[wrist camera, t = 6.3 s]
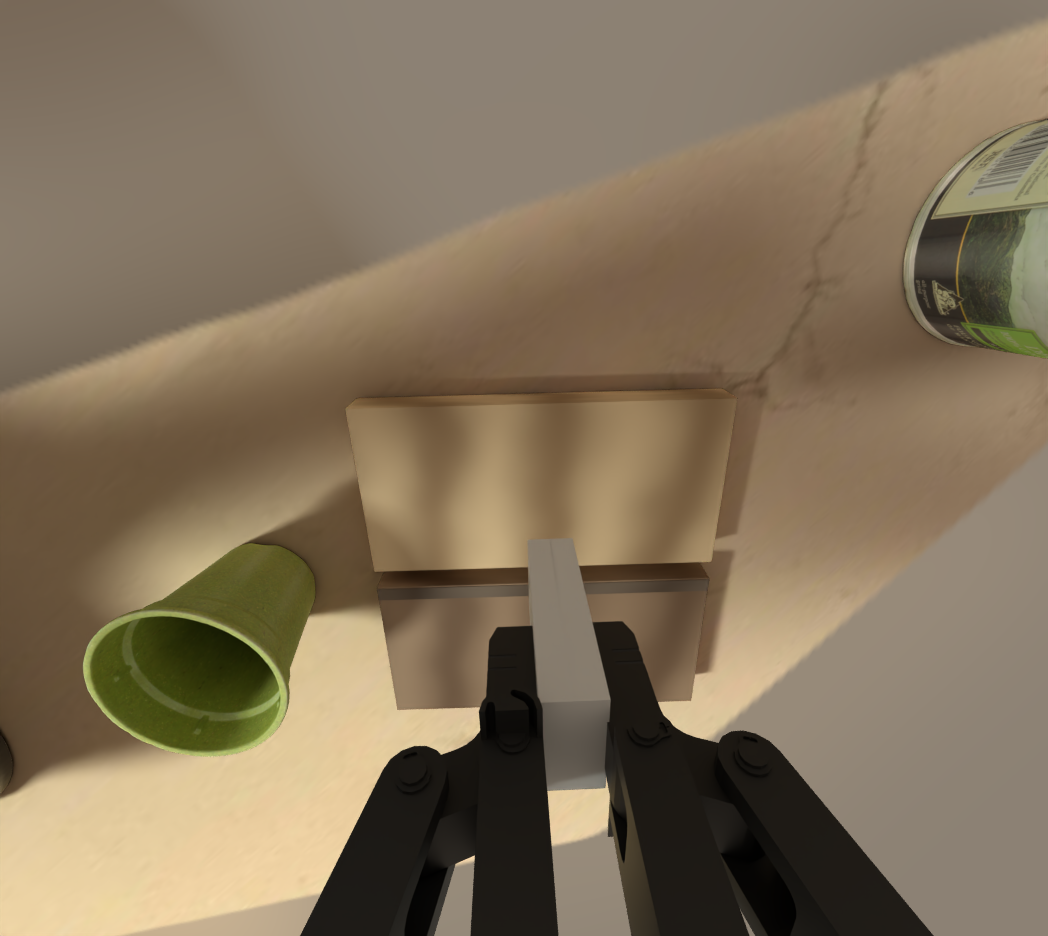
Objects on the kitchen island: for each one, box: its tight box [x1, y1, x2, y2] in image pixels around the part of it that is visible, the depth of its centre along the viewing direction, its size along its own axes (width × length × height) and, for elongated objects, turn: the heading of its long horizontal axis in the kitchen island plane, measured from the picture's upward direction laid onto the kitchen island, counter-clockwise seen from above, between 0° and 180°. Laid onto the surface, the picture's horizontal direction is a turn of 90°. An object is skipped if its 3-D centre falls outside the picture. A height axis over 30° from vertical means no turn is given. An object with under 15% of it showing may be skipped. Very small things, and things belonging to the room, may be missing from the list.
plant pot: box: [83, 543, 315, 757], centre depth 27 cm, size 9×9×9 cm
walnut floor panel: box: [377, 562, 709, 710], centre depth 32 cm, size 20×10×2 cm, turn 91°
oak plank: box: [345, 388, 738, 572], centre depth 28 cm, size 20×10×2 cm, turn 91°
